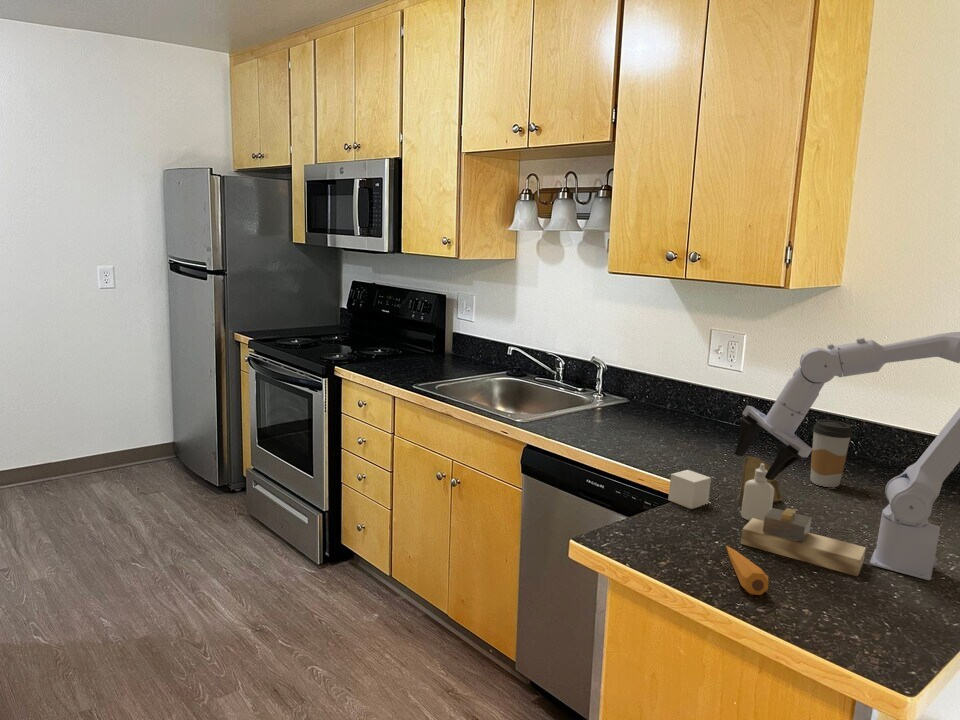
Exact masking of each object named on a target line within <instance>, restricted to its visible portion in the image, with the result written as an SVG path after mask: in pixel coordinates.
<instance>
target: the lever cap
mask: <svg viewBox="0 0 960 720" xmlns="http://www.w3.org/2000/svg"><path fill="white" fill-rule="evenodd" d="M796 512H797V510H796V509H793V508H788V507H786V508H785V509H783V510H782V509H779V508H775V507H772V509H771V510H770V511H769V512H768V514H767V515H766V516H765V518H764V526H763V531H765V532H768V533H772V534H776V535H780V536H783V537H787V538H791V539H795V540H798V541H802V542H803V541H804V539H805V538H806V536H807V535H808V533H811V532H810V530H811V526H812V525H811V523H812V517H811V516H807V515H803V514H799V513H796Z"/></svg>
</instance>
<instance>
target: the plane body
mask: <svg viewBox="0 0 960 720" xmlns="http://www.w3.org/2000/svg"><path fill="white" fill-rule="evenodd" d="M763 526H764V521H762V520H758V519H755V518H752V519H751V520H750V521H748V522H747V523H746V524H745V525H744V527H743V528H742V532H741V538H740V544H741V545H744V546H748V547H751V548H755V549H759V550H762V551H766V552H769V553H773V554H776V555H779V556H784V557H787V558H791V559H795V560H797V561H800V562H804V563H805V562H806V563H807V564H808V563H809V564H811V565H814V566H820V567H822V568H826V569H829V570H833V571H837V572H839V573H840V572H841V573H845V574H847V575H851V576H855V577H859V575H860V573H861V570H862V567H863V565H864V562H865V555H866V550H867V549H866V548H867V547H865V546H862V545H858V544H854V543H851V542H847V541H843V540H839V539H835V538H831V537H829V536H823V535H819V534H815V533H813V532H812V533H811V532H809V533H808V535H807V536H806V538H805V539H804V541H803V542H802V541H798V540H795V539H791V538H787V537H783V536H780V535H776V534H772V533H768V532H765V531H763Z"/></svg>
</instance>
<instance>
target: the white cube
mask: <svg viewBox="0 0 960 720" xmlns="http://www.w3.org/2000/svg"><path fill="white" fill-rule="evenodd" d="M669 480H670V481H669V489H668V498H667V500H668V501H670V502H672V503H675V504H678V505H680V506H682V507H685V508H687V509H690V510H692V509H696V508H699V507H702V505H703V506H705V504H706V505H708V504H709V498H710V492H711V491H710V490H711V481H712V477H710V476H708V475H704V474H702V473H699V472H696V471H692V470H690V469H686V470H685V469H684V470H682V471H677V472H674V473H671V474H670V479H669Z"/></svg>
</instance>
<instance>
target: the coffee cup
mask: <svg viewBox="0 0 960 720" xmlns="http://www.w3.org/2000/svg"><path fill="white" fill-rule="evenodd" d="M812 431H813V434H812V435H813V437H812V447H811V448H812V449H813V450H812V451H811V458H810V476H809V479H810V482H811V481H812V483H814V484H816V485H819V486H824V487H837V486H838V487H839V486H840V483H841V479H842V476H843V473H844V472H843V471H844V468H845V464H846V459H847V454H848V449H849V444H850V441H851V438H852V432H853V431H852V429H851V425H850V424H848V423H846V422H842V421H838V420H832V419H818V420H816V422H815V424H814V425H813V429H812ZM812 483H811V484H812ZM814 484H813V485H814ZM816 485H815V486H816ZM819 486H818V487H819ZM838 487H837V488H838Z"/></svg>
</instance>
